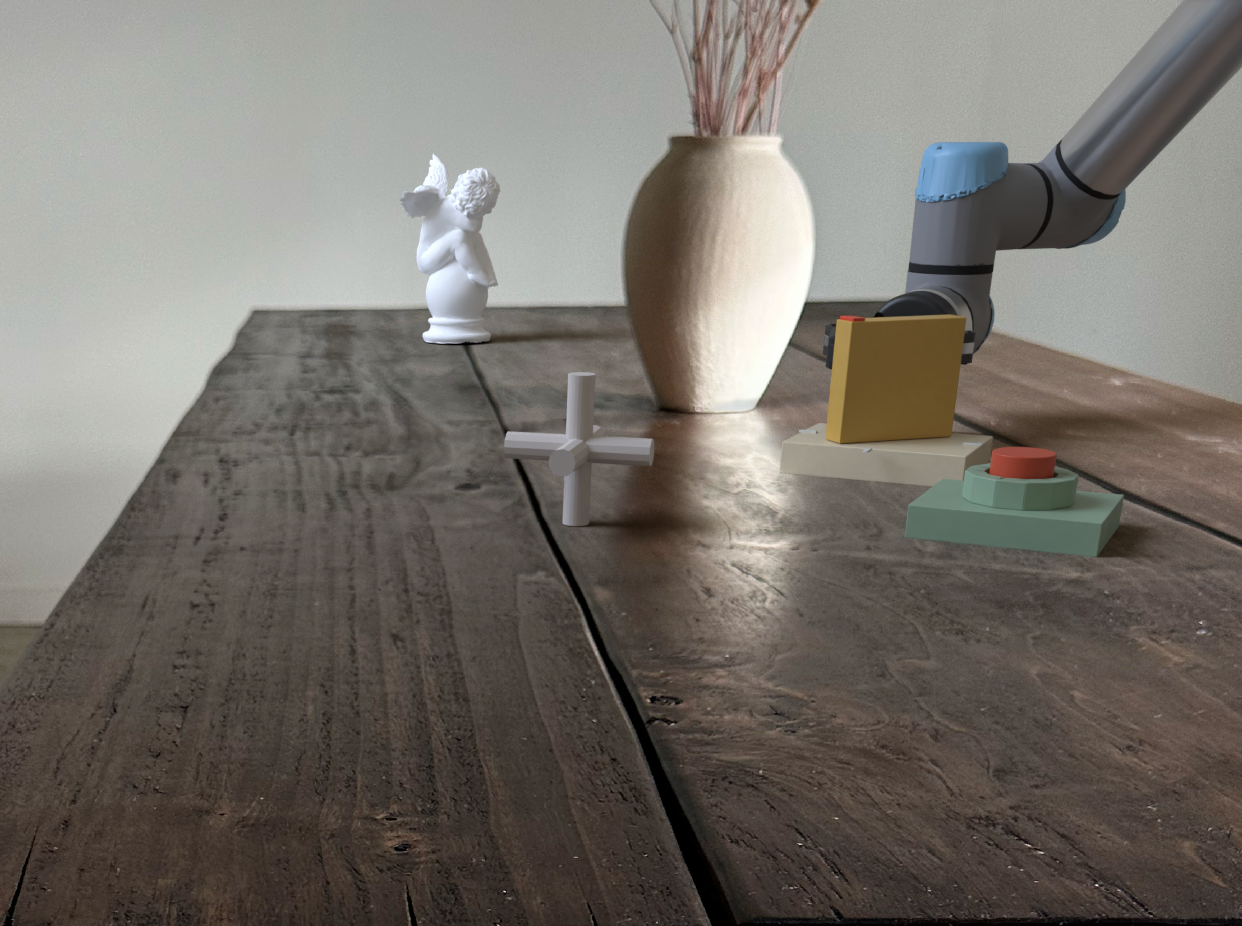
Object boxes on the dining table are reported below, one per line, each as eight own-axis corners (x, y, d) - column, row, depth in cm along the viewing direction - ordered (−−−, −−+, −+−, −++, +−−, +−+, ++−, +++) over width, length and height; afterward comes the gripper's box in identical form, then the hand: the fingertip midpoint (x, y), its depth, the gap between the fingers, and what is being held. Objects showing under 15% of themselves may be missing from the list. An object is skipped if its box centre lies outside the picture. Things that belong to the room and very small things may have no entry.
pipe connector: (633, 544, 111) (641, 387, 107) (486, 533, 114) (489, 381, 110) (660, 513, 119) (669, 367, 115) (523, 504, 122) (527, 361, 118)
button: (1057, 476, 112) (1061, 449, 112) (1047, 486, 109) (1051, 459, 108) (995, 471, 114) (998, 444, 113) (983, 481, 111) (986, 454, 110)
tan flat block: (935, 432, 135) (950, 311, 131) (951, 436, 133) (967, 313, 129) (824, 439, 132) (836, 315, 128) (839, 443, 130) (852, 318, 126)
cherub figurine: (508, 343, 212) (513, 153, 203) (424, 349, 206) (425, 155, 197) (456, 334, 222) (458, 152, 213) (375, 340, 216) (373, 154, 207)
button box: (1118, 527, 114) (1128, 467, 113) (1096, 557, 106) (1107, 494, 105) (938, 509, 120) (945, 452, 118) (904, 537, 112) (911, 477, 110)
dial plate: (995, 463, 136) (1000, 430, 135) (957, 495, 124) (962, 458, 123) (820, 449, 142) (824, 417, 141) (769, 478, 131) (772, 443, 130)
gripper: (988, 382, 148) (925, 421, 129) (841, 373, 154) (760, 409, 135) (1000, 293, 145) (937, 319, 126) (849, 287, 151) (768, 311, 132)
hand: (846, 365), depth 131 cm, fingers closed
